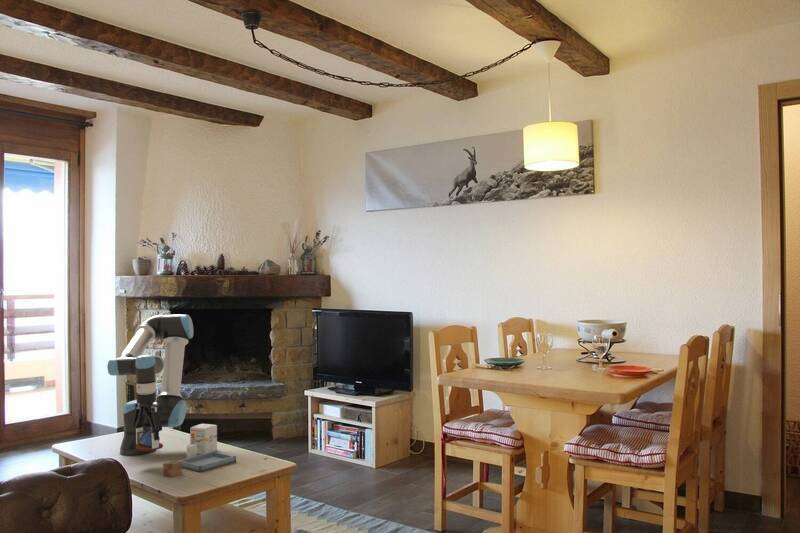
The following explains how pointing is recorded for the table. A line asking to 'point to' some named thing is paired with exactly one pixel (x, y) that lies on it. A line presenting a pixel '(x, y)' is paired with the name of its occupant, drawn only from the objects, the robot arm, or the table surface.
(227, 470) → the table surface
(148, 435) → the model
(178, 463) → the walnut cube
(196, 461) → the tray
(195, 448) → the white egg
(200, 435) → the ink box
